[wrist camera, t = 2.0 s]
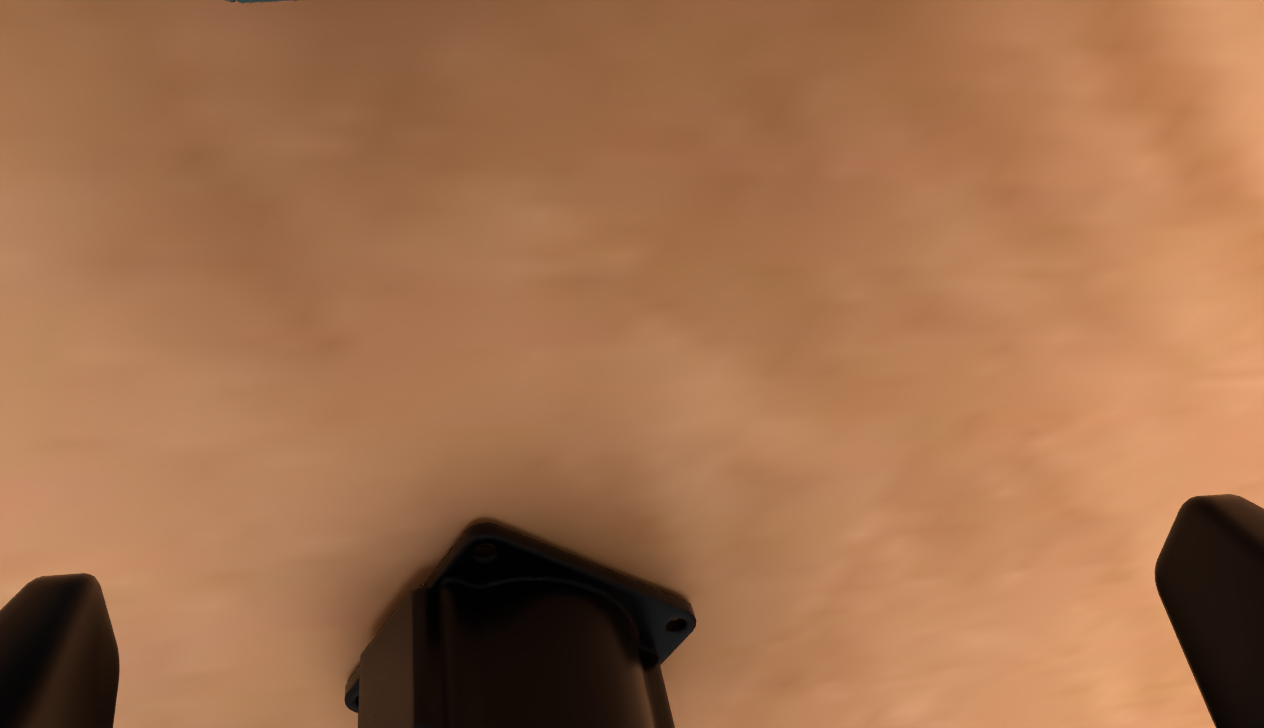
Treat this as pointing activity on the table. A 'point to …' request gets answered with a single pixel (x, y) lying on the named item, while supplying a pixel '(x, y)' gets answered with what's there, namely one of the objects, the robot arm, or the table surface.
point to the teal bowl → (256, 1)
